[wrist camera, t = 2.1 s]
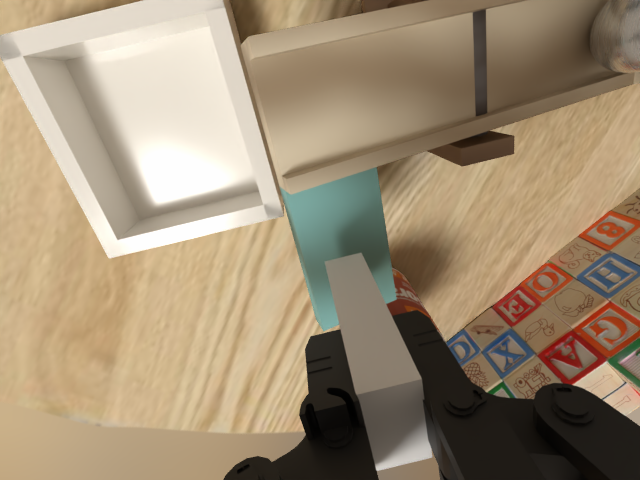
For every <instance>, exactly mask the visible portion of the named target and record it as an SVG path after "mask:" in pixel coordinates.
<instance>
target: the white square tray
mask: <svg viewBox="0 0 640 480" xmlns="http://www.w3.org/2000/svg"><path fill="white" fill-rule="evenodd" d="M240 45H241V40H240V37H239V33H238V30H237V26H236V22H235V19H234V15H233V11H232V8H231V4H230V1H229V0H143V1H139V2H134V3H130V4H126V5H122V6H118V7H114V8H110V9H106V10H102V11H97V12H93V13H89V14H85V15H81V16H77V17H73V18H69V19H64V20H60V21H56V22H52V23H48V24H44V25H40V26H36V27H32V28H27V29H23V30H19V31H15V32H11V33H7V34H3V35H0V57H1V59H2V61H3V63H4V65H5V67H6V68H7V70H8V72H9V74H10V76H11V78H12V80H13V81H14V83H15V85H16V87H17V89H18V91H19V93H20V94H21V96H22V98H23V100H24V102H25V104H26V106H27V107H28V109H29V111H30V113H31V115H32V117H33V119H34V120H35V122H36V124H37V126H38V128H39V130H40V131H41V133H42V135H43V137H44V139H45V141H46V143H47V144H48V146H49V148H50V150H51V152H52V154H53V156H54V157H55V159H56V161H57V163H58V165H59V167H60V169H61V170H62V172H63V174H64V176H65V178H66V180H67V182H68V183H69V185H70V187H71V189H72V191H73V193H74V195H75V196H76V198H77V200H78V202H79V204H80V206H81V207H82V209H83V211H84V213H85V215H86V217H87V219H88V220H89V222H90V224H91V226H92V228H93V230H94V232H95V233H96V235H97V237H98V239H99V241H100V243H101V245H102V246H103V248H104V250H105V252H106V254H107V256H108V258H113V257H117V256H122V255H126V254H130V253H134V252H138V251H142V250H146V249H150V248H155V247H159V246H163V245H167V244H171V243H175V242H179V241H183V240H188V239H192V238H196V237H200V236H204V235H208V234H212V233H216V232H221V231H225V230H229V229H233V228H237V227H241V226H245V225H249V224H254V223H258V222H262V221H266V220H270V219H274V218H278V217H282V216H284V201H283V197H282V194H281V190H280V187H279V183H278V179H277V176H276V172H275V169H274V165H273V161H272V158H271V154H270V151H269V147H268V143H267V140H266V136H265V133H264V129H263V125H262V122H261V118H260V115H259V111H258V107H257V104H256V100H255V96H254V93H253V89H252V86H251V82H250V78H249V75H248V71H247V68H246V64H245V60H244V57H243V53H242V50H241V46H240Z"/></svg>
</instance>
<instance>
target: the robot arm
mask: <svg viewBox="0 0 640 480" xmlns="http://www.w3.org/2000/svg"><path fill="white" fill-rule="evenodd" d="M325 266H326V270H327V274H328V278H329V283H330V287H331V291H332V295H333V300H334V304H335V308H336V312H337V317H338V321H339V325H340V330H336V331H331V332H327V333H323V334H319V335H315V336H311V337H310V339H309V341H308V344H307V346H306V348H305V353H306V363H307V364H306V366H307V378H308V391H309V394H308V395H307V396H306V398H305V399H304V401H303V402H302V404H301V408H300V414H299V416H300V419H301V421H302V424H303V427H304V430H305V433H306V436H305V437H304V439H303V440H302V441H301V442H300V443H299V445H298V446H297V447H295V448H294V449H293V450H291V451H290V452H288V453H287V454H285V455H283V456H282V457H280V458H278V459H277V460H276V461H273V462H271V461H270V460H269V459H268V458H263V457H259V456H257V457H252V458H247V459H245V460H243V461H242V462H240V463H238V464H236V465H235V466H234V467H233V468H232V469H231V470H230V471H229V472H228V473H227V475H226V476H225V478H224V480H379V479H378V475H377V471H378V470H382V469H387V468H391V467H395V466H399V465H403V464H407V463H411V462H415V461H419V460H423V459H428V458H432V452H431V448H432V451H433V453H434V456H435V458H436V460H437V463H438V465H439V473H440V480H640V426H639V425H637V424H636V423H635V422H633V421H632V420H630V419H629V418H627V417H626V416H625V415H623V414H622V413H620V412H619V411H618V410H616V409H615V408H613V407H612V406H610V405H609V404H608V403H606V402H605V401H603V400H602V399H601V398H599V397H598V396H596V395H595V394H593V393H591V392H589V391H587V390H585V389H584V388H581V387H578V386H574V385H571V384H567V383H552V384H548V385H545V386H542V387H541V388H540V389H539V390H538V391H537V392H536V393H535V397H534V399H523V398H507V397H500V396H496V395H493V394H489V393H487V392H486V391H485V390H484V389H483V388H481V387H480V386H478V385H476V384H474V383H472V382H471V380H470V379H469V378H468V377H467V375H466V374H465V372H464V371H463V369H462V367H461V366H460V364H459V363H458V361H457V360H456V358H455V357H454V355H453V353H452V352H451V350H450V349H449V347H448V346H447V344H446V342H445V341H444V340H443V338H442V336H441V335H440V333H439V332H438V331H437V328H436V327H435V325H434V324H433V322H432V321H431V319H430V318H429V317H428V316H426V315H425V314H423V313H422V312H420V311H418V310H414V311H410V312H406V313H401V314H397V315H393V316H391V314H390V311H389V309H388V307H387V305H386V303H385V301H384V299H383V297H382V295H381V293H380V290H379V288H378V286H377V284H376V282H375V280H374V278H373V276H372V274H371V272H370V270H369V267H368V265H367V263H366V261H365V259H364V257H363V255H362V253H358V254H353V255H349V256H345V257H341V258H337V259H333V260H329V261H325Z"/></svg>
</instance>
